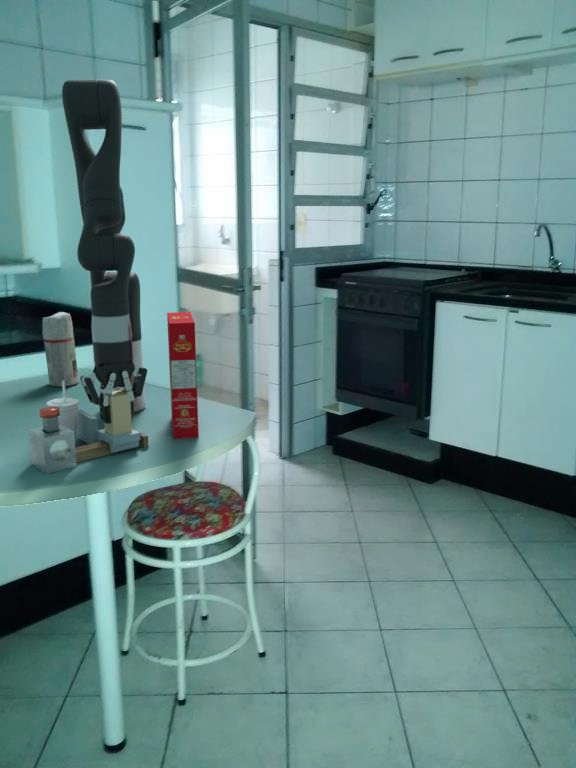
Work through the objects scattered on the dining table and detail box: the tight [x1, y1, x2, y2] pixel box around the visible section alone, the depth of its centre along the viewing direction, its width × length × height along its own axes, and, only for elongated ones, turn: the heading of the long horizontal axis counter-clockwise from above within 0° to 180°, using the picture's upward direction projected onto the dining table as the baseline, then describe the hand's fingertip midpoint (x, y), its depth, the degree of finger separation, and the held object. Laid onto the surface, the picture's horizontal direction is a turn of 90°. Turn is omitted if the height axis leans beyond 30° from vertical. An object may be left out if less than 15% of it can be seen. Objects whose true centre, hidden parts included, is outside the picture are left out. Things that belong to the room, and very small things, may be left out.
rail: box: [75, 429, 149, 463], centre depth 139 cm, size 5×16×2 cm, turn 130°
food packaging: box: [166, 311, 200, 440], centre depth 152 cm, size 15×5×25 cm, turn 11°
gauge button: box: [38, 406, 60, 434], centre depth 131 cm, size 4×4×7 cm
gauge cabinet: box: [28, 423, 78, 475], centre depth 132 cm, size 7×6×7 cm
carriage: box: [76, 390, 141, 454], centre depth 142 cm, size 15×7×11 cm, turn 40°
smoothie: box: [45, 380, 80, 447], centre depth 141 cm, size 6×6×14 cm
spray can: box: [41, 311, 79, 388], centre depth 190 cm, size 8×8×20 cm
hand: (117, 420), depth 140 cm, fingers closed on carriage, 4 cm apart
